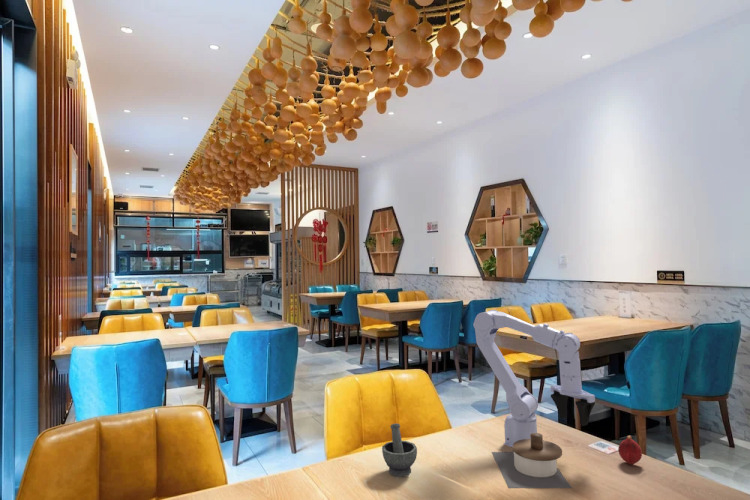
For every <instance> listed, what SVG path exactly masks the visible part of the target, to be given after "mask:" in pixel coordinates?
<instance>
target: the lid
mask: <svg viewBox="0 0 750 500" xmlns="http://www.w3.org/2000/svg"><path fill="white" fill-rule="evenodd" d="M530 437H531V439H523V440H519V441H516V442H515V443H514V444H513V447H512V452H515V453H516V454H517V455H519V456H521V457H524V458H527V459H531V460H537V461H551V460H558V459H560V458H561V457H563V449H562V447H560V446H559V445H558V444H556V443H555V442H552V441H548V440H545V439H543V437H544V436H543V434H542V433H539V432H537V433H531V434H530Z"/></svg>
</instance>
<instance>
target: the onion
mask: <svg viewBox="0 0 750 500" xmlns="http://www.w3.org/2000/svg"><path fill="white" fill-rule="evenodd" d="M618 454H619V456H620V458H621V459H622V461H624V462H625V463H627V464H628V465H631V466H632V465H635V464H636V463H639V462H640V460H641V459H642V457H643V451H642V448H641V446H640V445H639V444H638V442H636V441H635V440H634V439H632V436H631V435H627V437H626V439H623V440H622V441H621V442H620V443H619V446H618Z"/></svg>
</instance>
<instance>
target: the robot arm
mask: <svg viewBox="0 0 750 500" xmlns="http://www.w3.org/2000/svg"><path fill="white" fill-rule="evenodd" d="M472 325H473V328H474V332H475V341H476V344H477V346H478V348H479V351H480V352H481V353H482V355H483V357H484V358H485V360H486V362H487V363H488V365H489V366H490V368H491V370H492V371H493V373H494V375H495V377H496V378H497V381H499V382H498V383H500V385H501V386H502V388H503V390H504V392H505V397H506V398H505V401H506V403H507V404H508V407H509V413H510V414H507V416H506V417H505V420H504V442H503V445H505V446H507V447H511V448H513V444H514V443H515V442H516V441H519V440H523V439H531V437H530V434H531V433H538V428H537V427H538V422H537V415H536V413H535V412H536V411H537V410H538V408H539V401H538V400H537V398H536V397H535V396H534V395H533V394H532V393H530V392H529V390H528V388H527V387H525V386H523V385H522V384H521V382H520V381H519V380H518V378H517V376H516V375H515V373H514V371H513V370H512V368H511V366H510V365H509V363H508V362H507V360H506V358H505V357H504V355H503V353H502V351H501V350H500V348H499V347H498V345H497V344H496V343H495V339H496V335H497V332H498V331H499V329H504V328H508V329H511V330H514V331H517V332H520V333H523V334H526V335H529V336H531V338H532V340H533V342H536V343H538V344H541V345H543V346H546V347H548V348H550V349H553V350H556V351H557V353H558V358H559V359H558V364H559V377H560V379H559V380H560V385H558V384H552V385H551V384H550V392H552V394H550V398H551V400H552V401H553V403H554V404H555V406H556V409H557V412H558V415H559V418H560V419H567V418H568V401H569V399H568V398H569V397H570V398H573V399H579V400H576V401H575V405H576V408H577V410H578V416H579V423H580V426H582V427H585V426H588V425H589V420H590V416H591V413H592V410H593V408H594V406H595V405H596V395H595V394H592V393H589V392H588V391H585V390H583V387H582V386H583V385H582V371H581V360H580V351H579V349H580V347H581V341H580V338H579V337H578V336H577V335H576V334H574V333H572V332H566V333H565V330H563V329H561V330H558V329H555V328H553V327H550V325H549V324H548V323H543V324H542V323H540V324H539V323H538V324H537V325H534V324H531V323H529V322H527V321H524V320H522V319H520V318H517V317H515V316H512V315H511V314H508V313H505V311H504V312H503V311H498V310H496V309H490V310H488V311H484V312H479V313H478V314H477V315H476V316H475V319H474V321H473V323H472Z"/></svg>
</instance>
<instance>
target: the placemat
mask: <svg viewBox="0 0 750 500" xmlns="http://www.w3.org/2000/svg"><path fill="white" fill-rule="evenodd" d="M491 454H492V456H493V459H494V461H495V463H496V465H497V467H498V469H499V471H500V473H501V475H502V477H503V479H504V481H505V483H506V486H507V488H508V489H573V487H572V485H571V484H570V483H569V481H568V480H567V478H565V476H564V474H562V472H561V471H560V470H559V468H558V467H557V473H556V474H555V475H553V476H551V477H545V478H538V477H531V476H527V475H524V474H522V473H520V472H518V471H517V470H516V468H515V466H514V451H491Z"/></svg>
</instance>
